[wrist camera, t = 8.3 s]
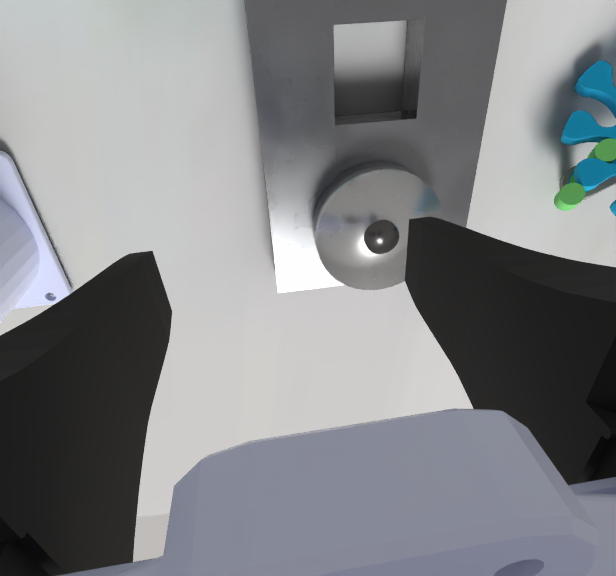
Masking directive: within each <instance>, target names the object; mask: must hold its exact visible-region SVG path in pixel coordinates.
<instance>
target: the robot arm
mask: <svg viewBox="0 0 616 576" xmlns="http://www.w3.org/2000/svg"><path fill="white" fill-rule="evenodd" d="M405 282H406V284H407V287H408V289H409V292H410V294H411V297H412V299H413V301H414V303H415V306H416V307H417V309H418V311H419V312H420V314H421V316H422V317H423V319H424V321H425V322H426V324H427V325H428V327H429V329H430V330H431V332H432V333H433V335H434V337H435V338H436V340H437V341H438V343H439V345H440V346H441V348H442V349H443V351H444V352H445V354H446V356H447V357H448V359H449V360H450V362H451V364H452V366H453V367H454V369H455V371H456V373H457V374H458V376H459V378H460V381H461V383H462V385H463V387H464V389H465V391H466V393H467V395H468V397H469V399H470V402H471V404H472V406H473V408H474V409H449V410H442V411H436V412H430V413H424V414H417V415H411V416H405V417H398V418H392V419H386V420H380V421H373V422H367V423H361V424H354V425H348V426H342V427H336V428H329V429H323V430H317V431H311V432H304V433H298V434H292V435H285V436H279V437H273V438H267V439H260V440H254V441H249V442H246V443H243V444H240V445H237V446H234V447H231V448H228V449H226V450H223V451H220V452H217V453H214V454H211V455H208V456H207V457H205V458H203V459H202V460H201V461H199V462H198V463H197V464H196V465H195V466H194V467H193V468H192V469H191V470H190V471H189V472H188V473H187V474H186V475H185V476H184V477H183V478H182V479H181V480H180V481H179V482H178V483H177V484H176V485H174V490H173V497H172V503H171V510H170V516H169V524H168V529H167V536H166V542H165V549H164V555H163V556H161V557H158V558H154V559H149V560H143V561H138V562H133V549H134V536H135V526H136V515H137V504H138V494H139V485H140V477H141V469H142V460H143V453H144V446H145V439H146V432H147V425H148V420H149V416H150V411H151V407H152V403H153V399H154V396H155V392H156V388H157V384H158V381H159V377H160V373H161V370H162V366H163V362H164V359H165V355H166V351H167V347H168V343H169V337H170V329H171V317H172V310H171V307H170V304H169V300H168V297H167V294H166V291H165V288H164V285H163V282H162V279H161V276H160V273H159V270H158V267H157V264H156V261H155V258H154V254H153V251H148V252H140V253H132V254H128V255H126V256H124V257H123V258H121V259H119V260H118V261H116V262H115V263H113V264H112V265H111V266H109V267H108V268H106V269H105V270H103V271H102V272H101V273H99V274H98V275H97V276H95V277H94V278H92V279H91V280H90V281H88V282H87V283H85V284H84V285H83V286H81V287H80V288H78V289H77V290H75V291H74V292H72V289H71V287H70V285H69V283H68V280H67V278H66V276H65V274H64V272H63V269H62V267H61V265H60V263H59V261H58V258H57V256H56V254H55V252H54V250H53V247H52V245H51V243H50V241H49V239H48V236H47V234H46V232H45V230H44V228H43V225H42V223H41V221H40V219H39V217H38V214H37V212H36V210H35V208H34V206H33V203H32V201H31V199H30V197H29V195H28V192H27V190H26V188H25V186H24V184H23V181H22V179H21V177H20V175H19V173H18V170H17V168H16V166H15V164H14V162H13V160H12V158H11V157H10V156H9V155H8V154H7V153H5V152H3V151H0V323H1V322H2V321H3V319H4V318H5V317H6V316H7V315H8V313H9V312H10V311H11V310H12V309H16V308H24V307H33V306H42V305H51V304H54V305H53V306H51V307H50V308H48V309H47V310H45V311H44V312H42V313H40V314H39V315H37V316H35V317H34V318H32V319H30V320H28V321H27V322H25V323H23V324H21V325H19V326H17V327H16V328H14V329H12V330H10V331H8V332H6V333H4V334H3V335H1V336H0V576H616V267H609V266H603V265H597V264H591V263H585V262H580V261H575V260H570V259H565V258H561V257H557V256H553V255H548V254H544V253H540V252H536V251H533V250H529V249H526V248H522V247H519V246H516V245H513V244H510V243H507V242H503V241H501V240H498V239H495V238H492V237H489V236H486V235H484V234H481V233H478V232H476V231H473V230H470V229H468V228H465V227H462V226H459V225H457V224H454V223H451V222H448V221H445V220H442V219H439V218H435V217H422V218H414V219H409V228H408V242H407V256H406V270H405ZM48 293H52V294H54V295H55V296H56V297H52V296H50V295H49V294H48Z"/></svg>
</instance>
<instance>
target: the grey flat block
mask: <svg viewBox="0 0 616 576" xmlns="http://www.w3.org/2000/svg"><path fill="white" fill-rule="evenodd" d="M506 3H507V0H245V7H246V16H247V25H248V34H249V43H250V52H251V60H252V69H253V78H254V87H255V96H256V104H257V113H258V122H259V131H260V140H261V148H262V157H263V166H264V175H265V184H266V193H267V201H268V210H269V219H270V228H271V237H272V245H273V254H274V263H275V272H276V280H277V288H278V293H281V292H290V291H298V290H307V289H315V288H324V287H332V286H341V285H347V286H349V287H353V288H356V289H362V290H378V289H383V288H388V287H391V286H394V285H397V284H399V283H401V282H403V281H405V270H406V256H407V242H408V228H409V219H414V218H422V217H435V218H439V219H442V220H445V221H448V222H451V223H454V224H457V225H459V226H462V227H465V228H466V224H467V219H468V213H469V208H470V202H471V197H472V191H473V186H474V180H475V174H476V169H477V163H478V158H479V152H480V147H481V141H482V136H483V130H484V125H485V119H486V113H487V108H488V102H489V97H490V91H491V86H492V80H493V75H494V69H495V64H496V58H497V52H498V47H499V41H500V36H501V30H502V25H503V19H504V14H505V8H506ZM400 20H408V25H407V39H406V53H405V67H404V81H403V95H402V109H401V111H391V112H379V113H367V114H355V115H343V116H335V104H334V36H333V25H336V24H352V23H368V22H384V21H400Z"/></svg>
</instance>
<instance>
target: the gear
mask: <svg viewBox="0 0 616 576" xmlns="http://www.w3.org/2000/svg"><path fill="white" fill-rule="evenodd" d="M612 79H613V69H612V66H611V65H610V64H609V63H608V62H606V61H602V60H600V61H598V62H596V63H595V64H593V65H592V66H591V67H589V68H588V69H587V70H586V71H585V72H584V73H583V75H582V76H581V77H580V78H579V79H578V82H577V84H576V86H575V90H576V92H577V93H578V94H579V95H581V96H583V97H590V98H593V99H596V100H598V101H600V102H602V103H604V104H605V105H606V106H607V107H608V108H609V109H610V110H611V112H612V113H613V115H614V116H615V118H616V88H615V86H614V85H613V81H612ZM561 142H563V143H564V144H567V145H576V144H579V143H585V142H598V144H597V145H596V147H595V148H594V149H593V150H592V152H591V153H590V154H589V156H588V158H587V159H585V160H582V161H581V162H579V163H578V165H577V166H574V167H572V168H571V169H569V170H568V171H567V172H566V174H565V175H564V176H563V178H562V179H561V182H560V191H559V192H558V193H557V195H556V196H555V198H554V204H555V206H556V207H557V208H558V209H560V210H564V211H567V210H571V209H573V208H574V207H576V206H577V205H578V204H579V203H580V202H581V201H582V200H584V199H586V198H589V197H591V196H593V195H595V194H597V193H599V192H601V191H603V190H605V189H607V188H609V187H611V186H613V185H615V184H616V125H615V126H612V127H602V126H600V125H598V124H597V122H596V121H595V120H594V118H593V117H592V115H591V114H589V113H588V112H585V111H575V112H573V113H572V115H571V116H570V118H569V119H568V121H567V123H566V125H565V127H564V130H563V133H562V137H561ZM610 209H611V211H612V213H613V214H614V215H615V216H616V200H615V201H614V202H613V203H612V204H611V206H610Z"/></svg>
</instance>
